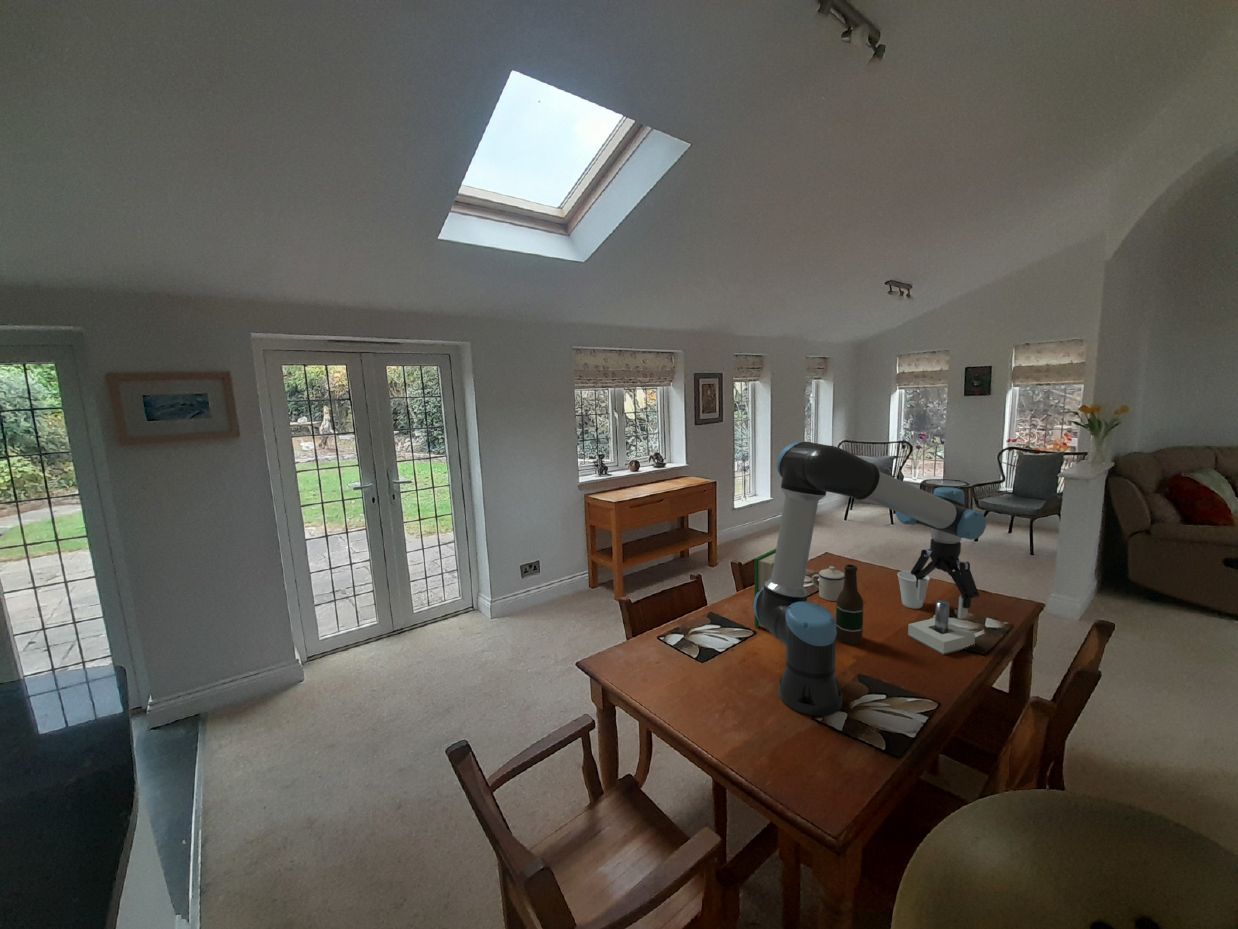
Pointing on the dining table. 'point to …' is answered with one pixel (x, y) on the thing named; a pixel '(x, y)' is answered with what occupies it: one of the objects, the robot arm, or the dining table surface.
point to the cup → (910, 589)
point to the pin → (942, 616)
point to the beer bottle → (849, 610)
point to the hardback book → (763, 573)
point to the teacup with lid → (829, 583)
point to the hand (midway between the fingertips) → (940, 608)
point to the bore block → (941, 636)
